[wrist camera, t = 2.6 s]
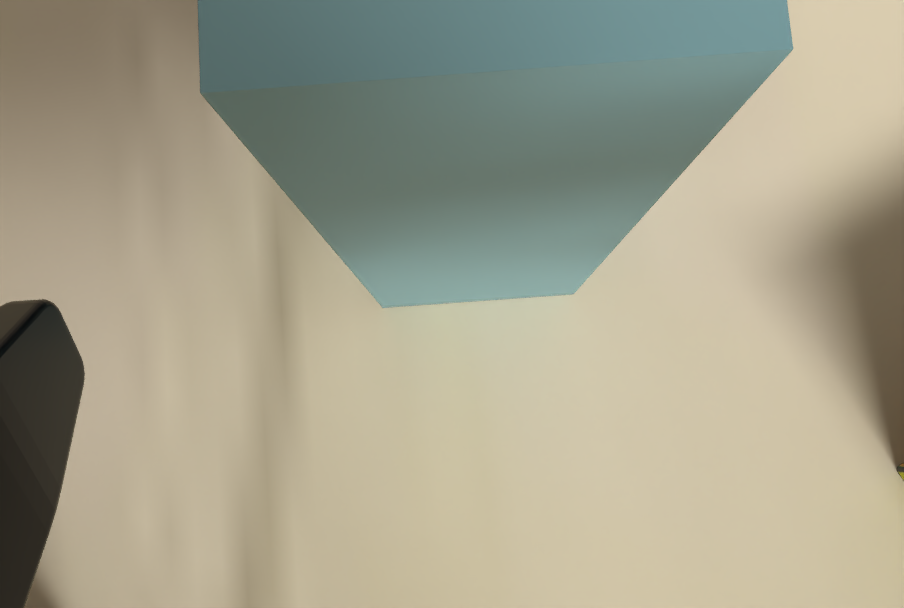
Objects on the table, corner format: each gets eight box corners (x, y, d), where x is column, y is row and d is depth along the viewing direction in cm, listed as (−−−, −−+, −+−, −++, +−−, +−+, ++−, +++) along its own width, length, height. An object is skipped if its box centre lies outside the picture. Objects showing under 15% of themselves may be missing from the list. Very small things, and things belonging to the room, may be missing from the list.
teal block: (573, 294, 19) (794, 47, 6) (382, 307, 19) (201, 92, 6) (557, 111, 20) (725, -468, 7) (371, 124, 20) (186, -422, 7)
